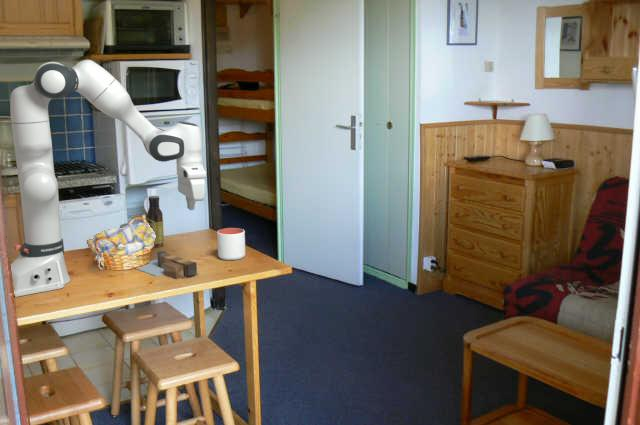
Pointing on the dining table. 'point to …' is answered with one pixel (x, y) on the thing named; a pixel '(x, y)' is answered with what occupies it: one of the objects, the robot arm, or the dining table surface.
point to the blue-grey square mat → (152, 268)
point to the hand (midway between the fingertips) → (191, 209)
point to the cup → (231, 243)
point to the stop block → (174, 270)
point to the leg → (177, 262)
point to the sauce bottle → (156, 220)
